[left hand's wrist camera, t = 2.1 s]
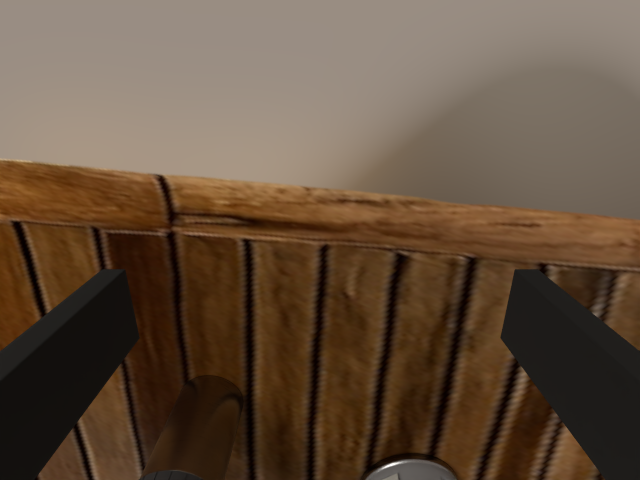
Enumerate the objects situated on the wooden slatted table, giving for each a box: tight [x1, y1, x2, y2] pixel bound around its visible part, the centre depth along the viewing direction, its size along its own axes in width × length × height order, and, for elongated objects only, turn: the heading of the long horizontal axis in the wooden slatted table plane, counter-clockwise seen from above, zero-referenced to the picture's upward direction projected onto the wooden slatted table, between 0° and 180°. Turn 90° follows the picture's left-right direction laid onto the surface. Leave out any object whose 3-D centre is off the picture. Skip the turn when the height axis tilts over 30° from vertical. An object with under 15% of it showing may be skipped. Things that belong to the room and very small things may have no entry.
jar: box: [141, 376, 243, 480], centre depth 43 cm, size 8×8×15 cm
